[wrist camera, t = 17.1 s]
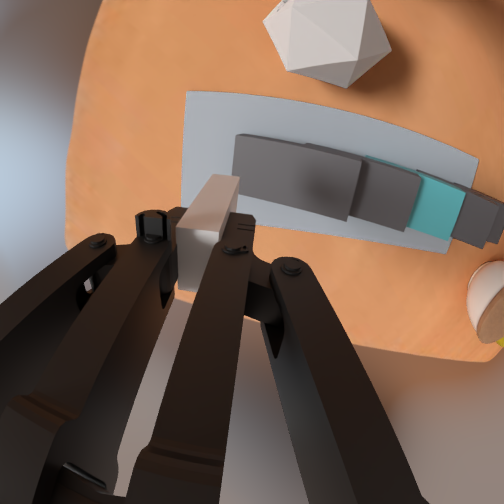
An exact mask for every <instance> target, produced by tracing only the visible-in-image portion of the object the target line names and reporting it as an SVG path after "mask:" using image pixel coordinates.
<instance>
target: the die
mask: <svg viewBox="0 0 504 504" xmlns="http://www.w3.org/2000/svg"><path fill="white" fill-rule="evenodd" d="M263 23H264V25H265V27H266V29H267V31H268V33H269V35H270V37H271V39H272V41H273V43H274V45H275V47H276V49H277V51H278V53H279V55H280V57H281V60H282V62H283V64H284V66H285V68H286V70H287V71H288V72H292V73H296V74H300V75H304V76H307V77H311V78H314V79H318V80H321V81H324V82H328V83H331V84H334V85H337V86H340V87H343V88H346V89H347V88H348V87H349V86H350V85H351V84H352V83H354V82H355V81H356V80H357V79H358V78H359V77H361V76H362V75H363V74H364V73H365V72H366V71H368V70H369V69H370V68H371V67H372V66H374V65H375V64H376V63H377V62H379V61H380V60H381V59H382V58H383V57H385V56H386V55H387V54H388V53H390V52H391V51H392V49H391V47H390V44H389V41H388V39H387V37H386V34H385V32H384V29H383V27H382V25H381V22H380V20H379V18H378V16H377V14H376V12H375V10H374V7H373V5H372V3H371V1H370V0H282V1H281V2H280V3H279V4H278V5H277V6H276V7H275V8H274V9H273V10H272V11H271V13H270V14H269V15H268V16H267V17H266V18H265V19H264V20H263Z"/></svg>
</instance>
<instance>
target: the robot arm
mask: <svg viewBox="0 0 504 504" xmlns="http://www.w3.org/2000/svg"><path fill="white" fill-rule="evenodd" d="M239 181H240V177H238V176H229V175H220V174H212V176H211V177H210V178H209V180H208V181H207V182H206V184H205V185H204V187H203V188H202V189H201V191H200V192H199V194H198V195H197V196H196V198H195V199H194V201H193V202H192V204H191V205H190V206H189V208H185V207H175V208H173V209H171V210H169V211H168V212H166V211H162V210H147V211H143V212H140V213H138V214H137V215H135V220H136V231H137V237H136V238H135V240H134V241H133V242H132V243H131V244H127V245H116V242H115V238H114V236H112V235H110V234H105V233H101V234H100V233H98V234H96V235H92V236H90V237H88V238H86V239H85V240H83V241H82V242H80V243H79V244H77V245H76V246H75V247H73V248H72V249H70V250H69V251H67V252H66V253H65V254H63V255H62V256H61V257H59V258H58V259H56V260H55V261H54V262H53V263H51V264H50V265H48V266H47V267H46V268H44V269H43V270H42V271H40V272H39V273H38V274H36V275H35V276H34V277H33V278H31V279H30V280H29V281H28V282H26V283H25V284H24V285H23V286H21V287H20V288H19V289H18V290H17V291H15V292H14V293H13V294H12V295H11V296H9V297H8V298H7V299H6V300H5V301H4V302H3V303H1V304H0V504H219V498H220V491H221V483H222V476H223V467H224V460H225V453H226V445H227V437H228V430H229V422H230V414H231V407H232V399H233V392H234V385H235V377H236V370H237V362H238V355H239V347H240V340H241V332H242V324H243V317H244V315H246V316H248V317H251V318H253V319H256V320H258V321H261V330H262V333H263V337H264V341H265V345H266V349H267V353H268V356H269V360H270V364H271V368H272V371H273V375H274V379H275V382H276V386H277V390H278V393H279V397H280V401H281V405H282V408H283V412H284V416H285V419H286V423H287V426H288V430H289V434H290V437H291V441H292V444H293V448H294V452H295V455H296V459H297V463H298V466H299V470H300V473H301V477H302V480H303V484H304V487H305V490H306V494H307V498H308V501H309V504H429V503H428V502H427V501H426V500H425V499H424V498H423V497H422V496H421V493H420V491H419V488H418V486H417V483H416V481H415V478H414V476H413V473H412V471H411V468H410V466H409V464H408V461H407V459H406V457H405V454H404V452H403V450H402V448H401V445H400V443H399V441H398V438H397V436H396V434H395V432H394V430H393V428H392V425H391V423H390V421H389V419H388V417H387V414H386V412H385V410H384V408H383V406H382V404H381V402H380V400H379V397H378V395H377V393H376V391H375V389H374V387H373V385H372V383H371V381H370V379H369V377H368V375H367V373H366V371H365V369H364V367H363V365H362V363H361V361H360V359H359V357H358V355H357V353H356V351H355V349H354V347H353V345H352V343H351V341H350V339H349V338H348V336H347V334H346V332H345V330H344V328H343V326H342V324H341V322H340V320H339V319H338V317H337V315H336V313H335V311H334V309H333V307H332V306H331V304H330V302H329V300H328V298H327V296H326V295H325V293H324V291H323V289H322V287H321V285H320V284H319V282H318V280H317V278H316V276H315V275H314V273H313V271H312V269H311V268H310V267H309V265H308V264H307V263H305V262H304V261H302V260H300V259H298V258H294V257H279V258H277V259H275V260H274V261H273V262H272V264H270V263H267V262H265V261H262V260H261V259H259V258H257V257H256V256H255V255H254V253H253V241H254V233H255V225H256V219H255V218H254V217H253V215H251V214H243V213H236V210H237V200H238V191H239ZM87 279H89V280H90V283H91V287H92V289H90V290H89V291H86V289H85V286H84V282H85V281H86V280H87ZM177 279H178V289H180V290H186V291H192V292H197V294H196V297H195V300H194V303H193V306H192V309H191V312H190V314H189V318H188V321H187V324H186V326H185V329H184V332H183V335H182V339H181V342H180V345H179V348H178V351H177V354H176V357H175V361H174V364H173V367H172V370H171V373H170V376H169V379H168V383H167V386H166V389H165V393H164V396H163V399H162V403H161V406H160V409H159V413H158V416H157V420H156V423H155V427H154V430H153V434H152V437H151V440H150V442H149V444H148V445H147V446H146V447H145V448H144V449H142V450H141V452H140V454H139V455H138V457H137V460H136V463H135V465H134V468H133V472H132V476H131V479H130V483H129V487H128V491H127V495H126V497H120V496H115V495H113V493H114V489H115V484H116V481H117V477H118V462H117V454H118V450H119V446H120V443H121V440H122V437H123V434H124V430H125V427H126V424H127V422H128V419H129V416H130V413H131V410H132V407H133V404H134V401H135V398H136V395H137V392H138V389H139V387H140V384H141V381H142V378H143V375H144V373H145V370H146V367H147V365H148V362H149V359H150V357H151V354H152V352H153V349H154V347H155V344H156V341H157V339H158V336H159V334H160V331H161V329H162V326H163V324H164V321H165V319H166V316H167V314H168V311H169V309H170V307H171V304H172V302H173V299H174V295H175V291H174V285H175V283H176V281H177ZM63 465H64V466H63Z"/></svg>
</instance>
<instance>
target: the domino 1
mask: <svg viewBox="0 0 504 504" xmlns="http://www.w3.org/2000/svg"><path fill="white" fill-rule="evenodd" d="M361 163H362V160H361V158H357V157H354V156H350V155H346V154H342V153H339V152H335V151H331V150H326V149H322V148H318V147H314V146H309V145H305V144H300V143H295V142H290V141H285V140H280V139H274V138H269V137H263V136H257V135H250V134H244V133H243V134H238V135H236V136H235V146H234V155H233V165H232V176H238V177H240V181H239V191H238V194H240V195H244V196H248V197H253V198H257V199H261V200H265V201H269V202H273V203H277V204H281V205H285V206H289V207H293V208H297V209H301V210H305V211H308V212H312V213H316V214H319V215H323V216H327V217H330V218H334V219H337V220H341V221H344V222H347V218H348V215H349V211H350V208H351V204H352V200H353V196H354V192H355V188H356V184H357V180H358V176H359V172H360V168H361Z"/></svg>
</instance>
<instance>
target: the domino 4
mask: <svg viewBox="0 0 504 504" xmlns="http://www.w3.org/2000/svg"><path fill="white" fill-rule="evenodd" d="M454 184H456V185H459V186H461V187H463V188H466V189H468V190H470V191H472V192H474V193H477V194H479V195H481V196H483V197H485V198H487V199H489V200H491V201H493V202H495V203H496V204H497V205H498V206H499V210H498V212H497V215H496V218H495V220H494V223H493V226H492V228H491V231H490V233H489V235H488V238H487V240H486V241H488V242H491V243H495V244H498V242H499V239H500V237H501V234H502V232H503V230H504V203H503V202H501V201H499V200H497V199H494V198H492V197H490V196H488V195H485V194H483V193H481V192H478V191H476V190H473V189H471V188H468V187H466V186H463V185H461V184H458V183H455V182H454Z"/></svg>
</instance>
